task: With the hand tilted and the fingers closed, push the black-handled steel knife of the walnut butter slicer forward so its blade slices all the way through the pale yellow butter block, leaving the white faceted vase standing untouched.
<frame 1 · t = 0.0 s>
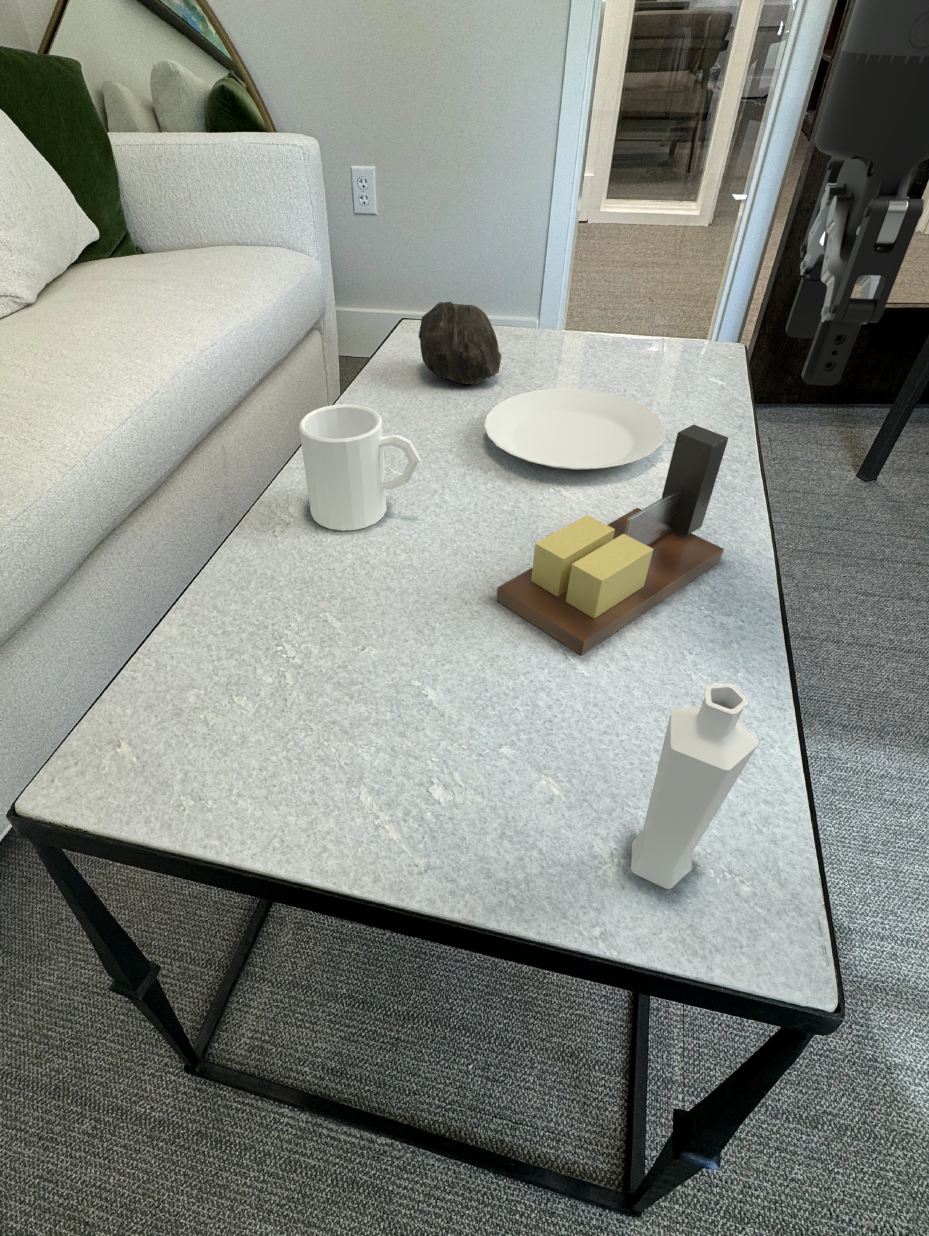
hand: (808, 358, 50), 21 cm above the table, tool pointing down, fingers open, 8 cm apart
slicer board: (610, 580, 68), on the table
mug: (366, 514, 77), on the table
rock: (458, 378, 102), on the table
plate: (570, 444, 87), on the table
butter: (590, 565, 64), on the slicer board, point 4 cm above the table
knife: (664, 496, 66), point 6 cm above the table, slide at 0.0 cm
white faceted vase: (659, 860, 47), on the table
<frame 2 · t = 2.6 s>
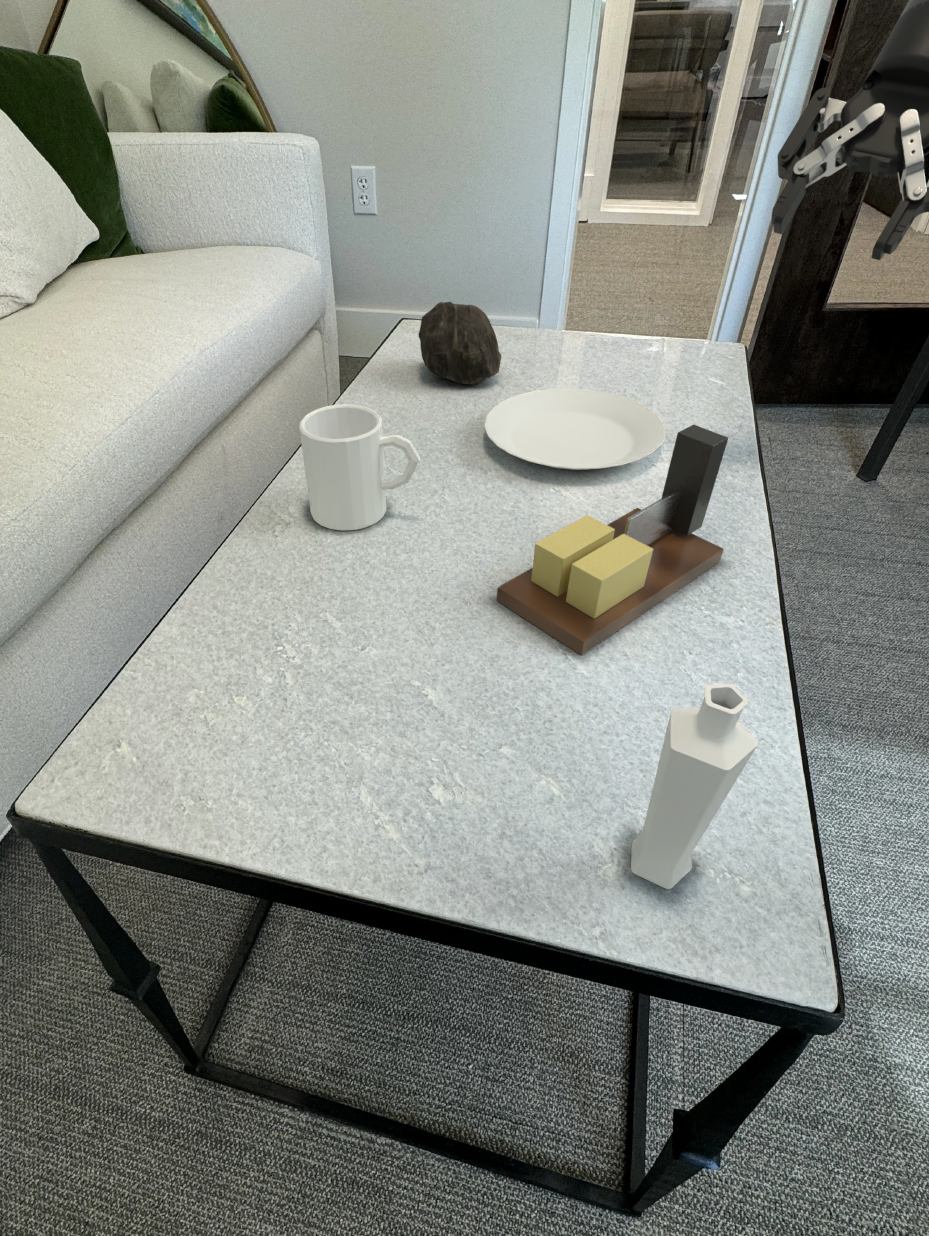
hand: (825, 241, 62), 23 cm above the table, tool tilted 40°, fingers open, 8 cm apart
nothing on the table moved.
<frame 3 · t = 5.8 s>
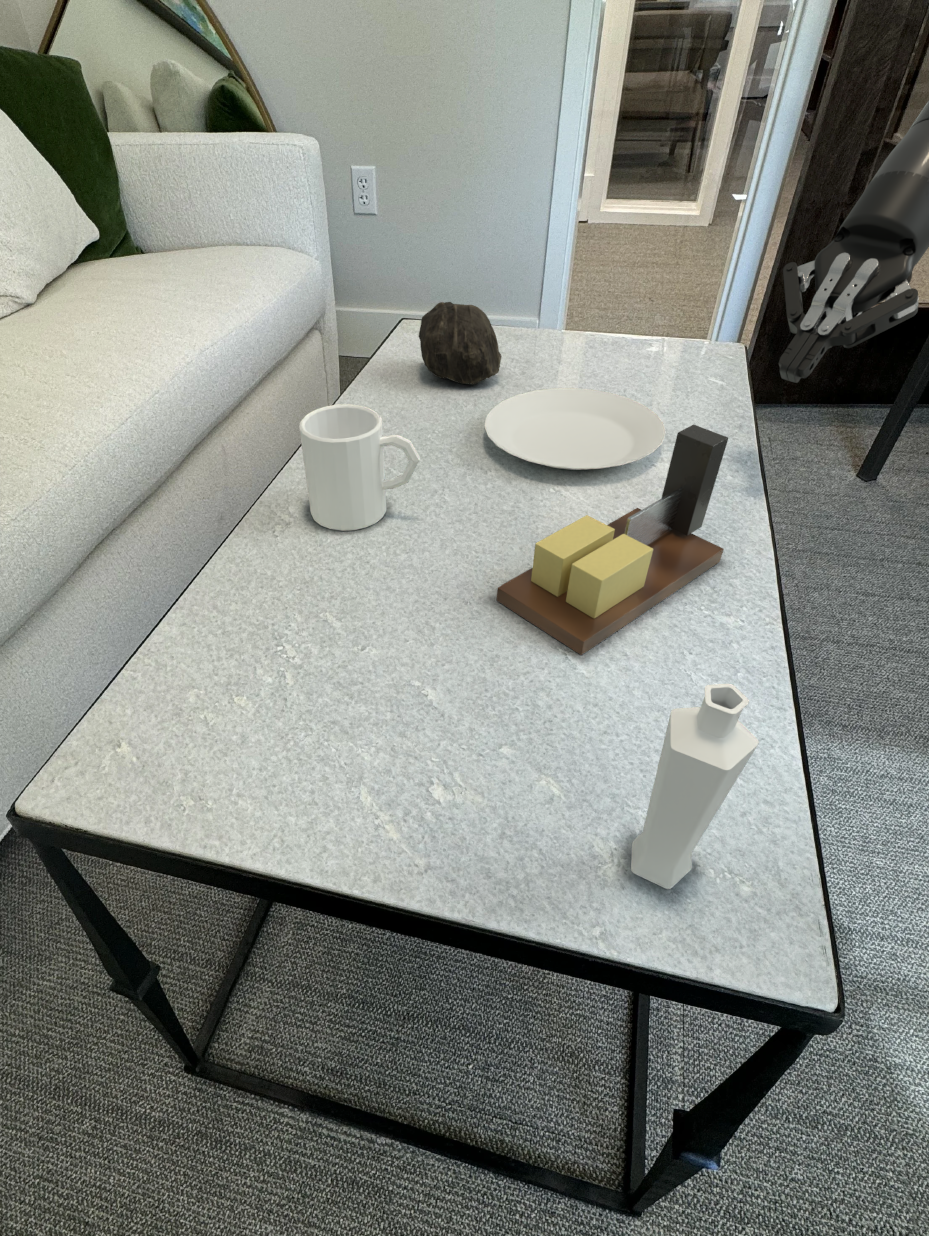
hand: (788, 376, 68), 13 cm above the table, tool tilted 45°, fingers closed
nothing on the table moved.
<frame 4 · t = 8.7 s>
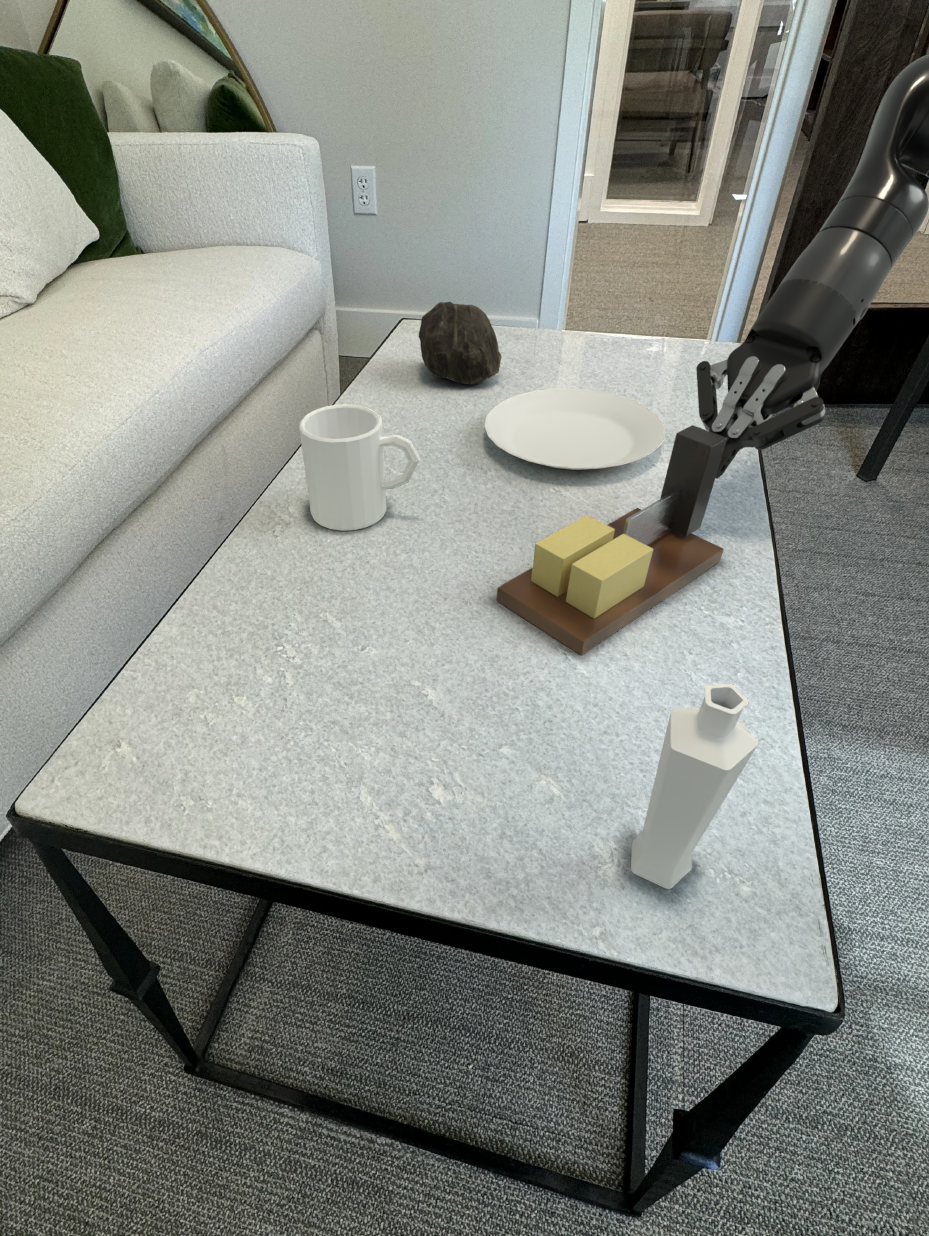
hand: (700, 476, 68), 6 cm above the table, tool tilted 45°, fingers closed
knife: (663, 497, 66), point 6 cm above the table, slide at 0.2 cm, touching gripper
everything else where it was.
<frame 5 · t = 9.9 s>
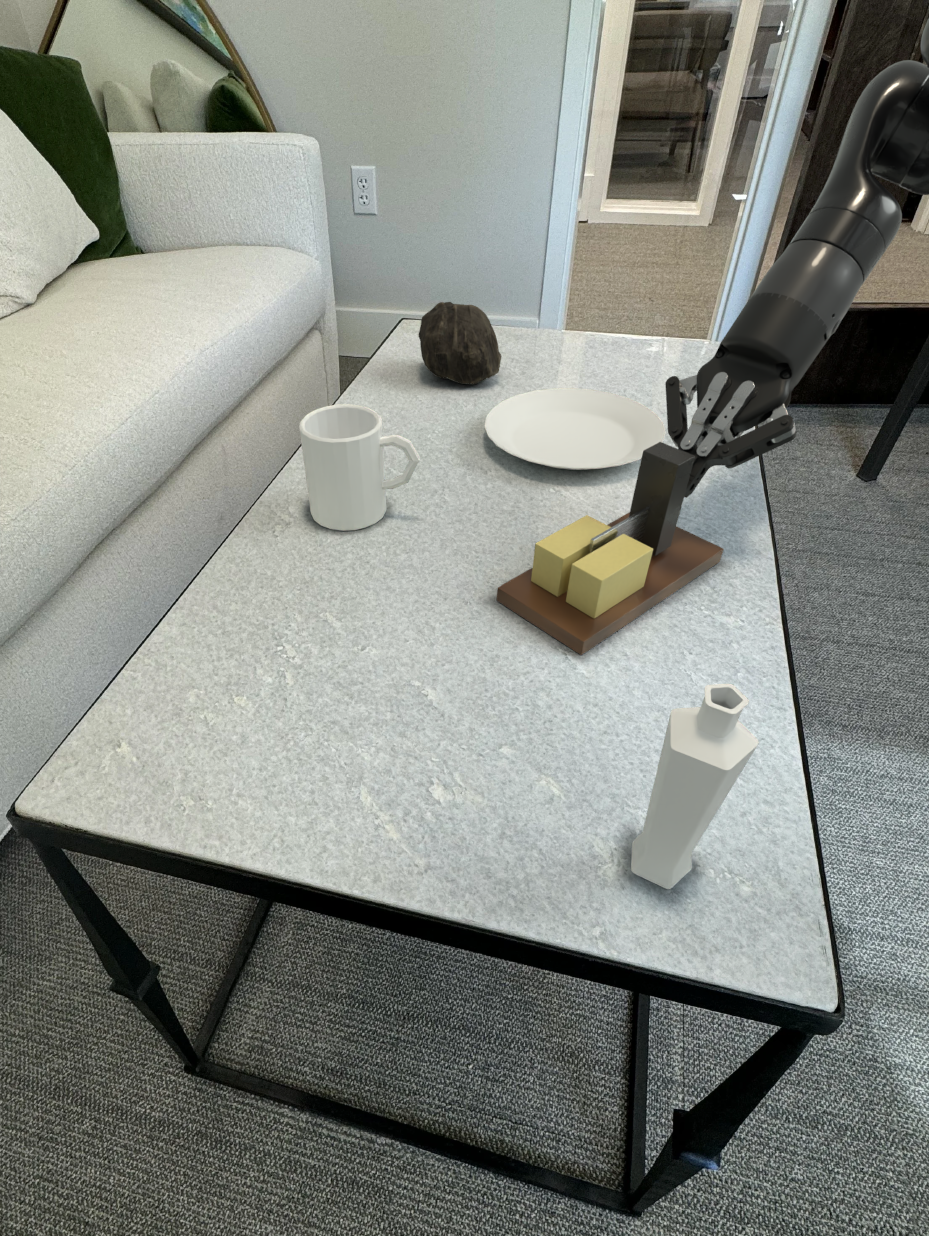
hand: (669, 495, 66), 6 cm above the table, tool tilted 45°, fingers closed
knife: (630, 516, 63), point 6 cm above the table, slide at 4.9 cm, touching gripper
everything else where it was.
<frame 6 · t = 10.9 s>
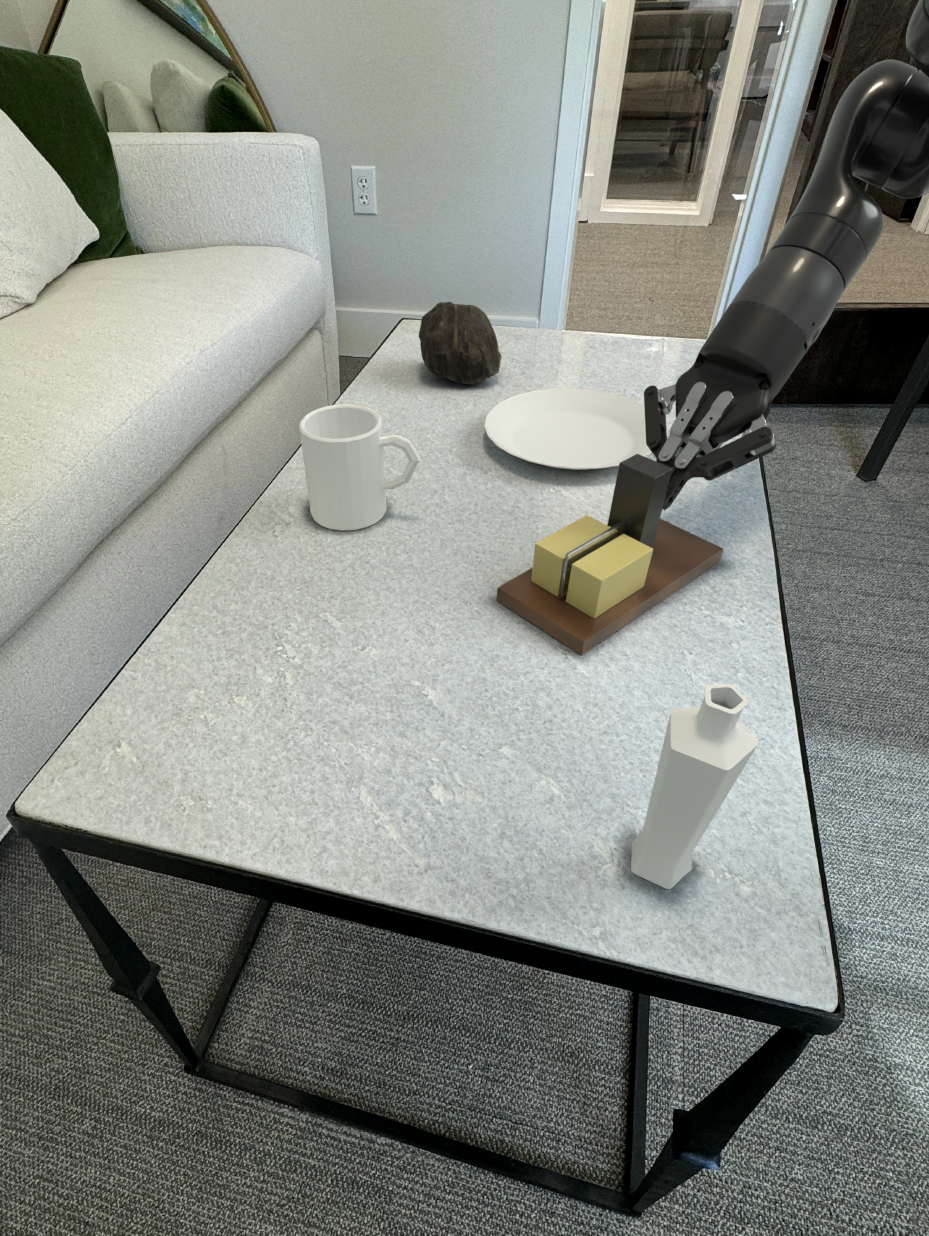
hand: (647, 507, 65), 6 cm above the table, tool tilted 45°, fingers closed
knife: (606, 529, 62), point 6 cm above the table, slide at 8.1 cm, touching gripper
everything else where it was.
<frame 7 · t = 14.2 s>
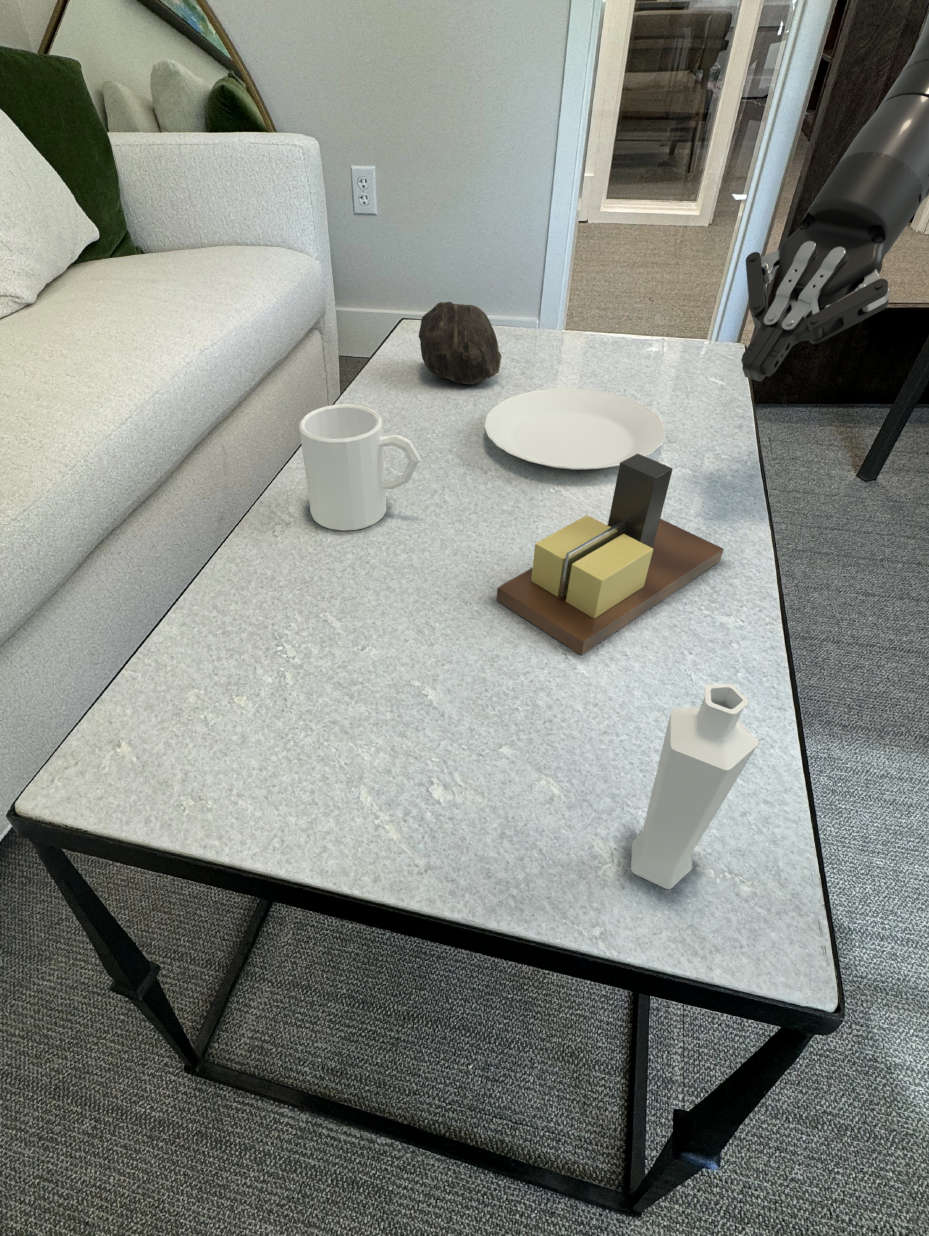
hand: (751, 374, 64), 15 cm above the table, tool tilted 45°, fingers closed
knife: (607, 529, 62), point 6 cm above the table, slide at 8.0 cm
everything else where it was.
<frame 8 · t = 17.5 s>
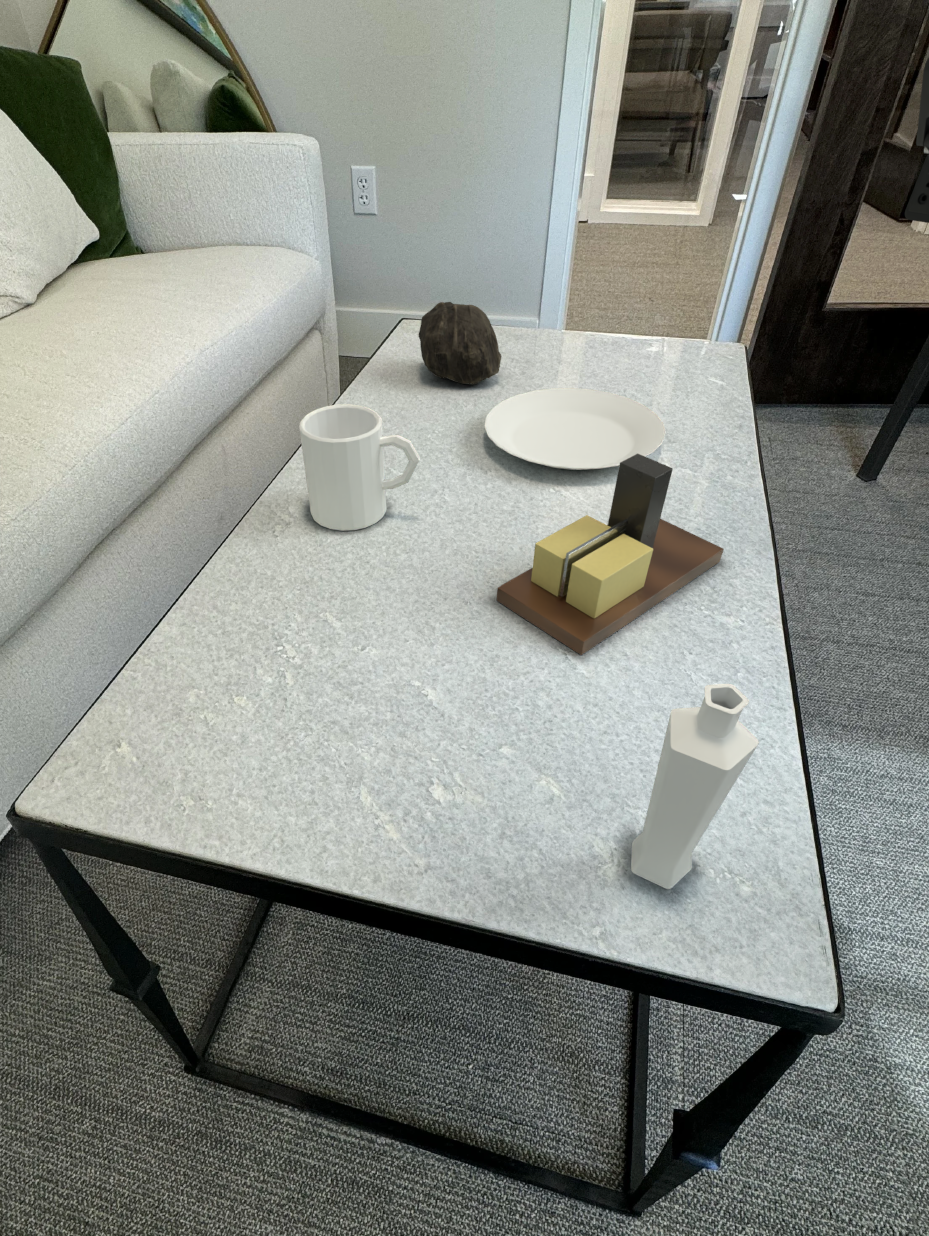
hand: (922, 218, 52), 27 cm above the table, tool pointing down, fingers closed
nothing on the table moved.
at the end: knife slide at 8.0 cm; white faceted vase moved 0.2 cm from its start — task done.
